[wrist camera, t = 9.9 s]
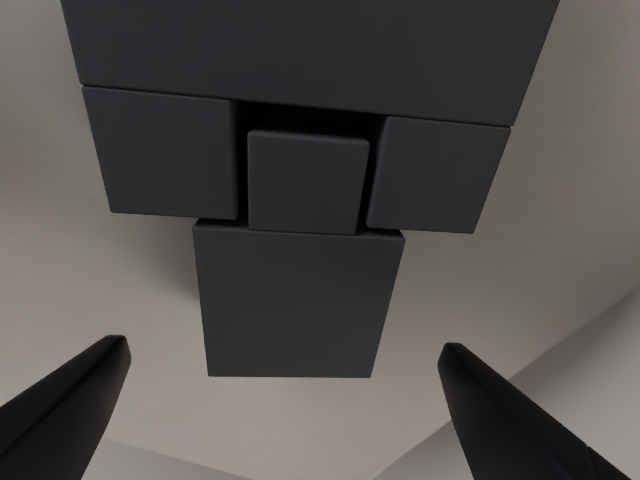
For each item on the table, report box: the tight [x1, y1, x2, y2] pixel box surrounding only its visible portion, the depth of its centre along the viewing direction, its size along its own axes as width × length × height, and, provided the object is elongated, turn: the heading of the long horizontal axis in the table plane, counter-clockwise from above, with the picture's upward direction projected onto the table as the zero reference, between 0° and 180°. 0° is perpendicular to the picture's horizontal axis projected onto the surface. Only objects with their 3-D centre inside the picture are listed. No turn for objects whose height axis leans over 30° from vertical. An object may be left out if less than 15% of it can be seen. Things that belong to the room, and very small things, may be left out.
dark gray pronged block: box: [60, 0, 560, 234], centre depth 8 cm, size 10×10×3 cm
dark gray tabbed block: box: [193, 116, 405, 378], centre depth 11 cm, size 6×9×3 cm
